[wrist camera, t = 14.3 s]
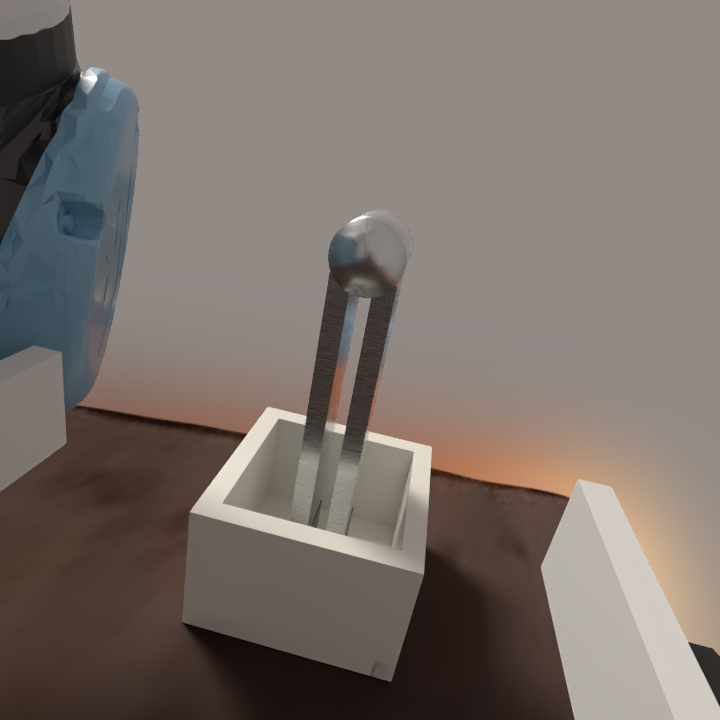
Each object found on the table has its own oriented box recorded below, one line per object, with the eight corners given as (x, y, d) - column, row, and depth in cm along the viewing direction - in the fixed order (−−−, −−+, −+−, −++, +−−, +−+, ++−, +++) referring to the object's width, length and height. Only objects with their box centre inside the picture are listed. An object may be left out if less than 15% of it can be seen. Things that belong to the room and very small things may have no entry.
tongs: (277, 577, 26) (334, 211, 19) (302, 516, 30) (357, 202, 23) (334, 592, 26) (414, 227, 19) (351, 528, 30) (421, 215, 23)
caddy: (182, 622, 24) (189, 512, 21) (256, 494, 33) (267, 406, 30) (391, 682, 23) (424, 574, 20) (407, 533, 32) (431, 447, 30)
